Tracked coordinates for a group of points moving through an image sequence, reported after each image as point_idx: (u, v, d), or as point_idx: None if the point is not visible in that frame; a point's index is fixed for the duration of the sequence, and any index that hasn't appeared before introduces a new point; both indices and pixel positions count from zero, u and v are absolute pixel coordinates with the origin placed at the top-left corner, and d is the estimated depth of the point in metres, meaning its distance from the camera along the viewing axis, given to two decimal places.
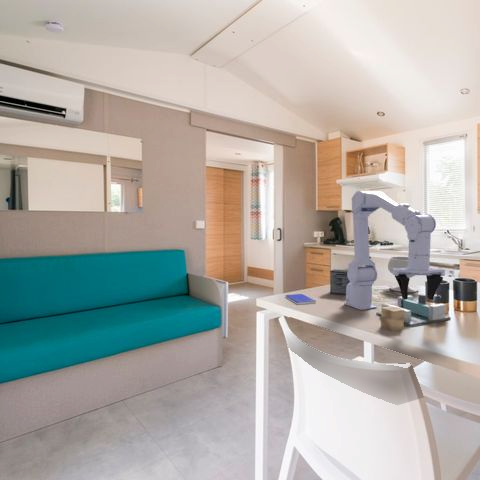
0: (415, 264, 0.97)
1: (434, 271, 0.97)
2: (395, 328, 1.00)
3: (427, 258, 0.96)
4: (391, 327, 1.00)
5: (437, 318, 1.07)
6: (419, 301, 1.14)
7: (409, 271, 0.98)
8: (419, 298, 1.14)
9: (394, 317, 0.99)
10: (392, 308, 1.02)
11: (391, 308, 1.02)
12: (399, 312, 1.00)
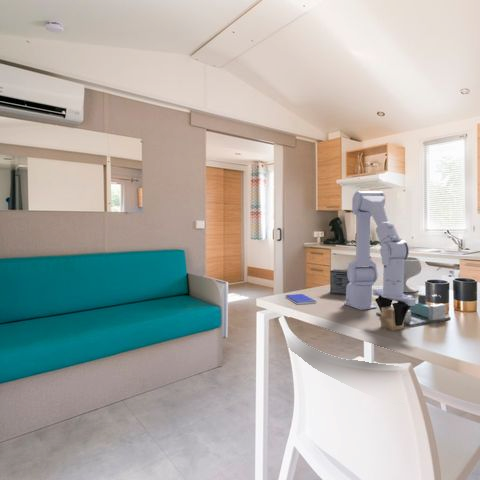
0: (383, 287, 1.03)
1: (398, 298, 0.97)
2: (395, 328, 1.00)
3: (390, 284, 0.99)
4: (391, 327, 1.00)
5: (437, 318, 1.07)
6: (419, 301, 1.14)
7: (379, 293, 1.04)
8: (419, 298, 1.14)
9: (394, 317, 0.99)
10: (392, 308, 1.02)
11: (391, 308, 1.02)
12: None
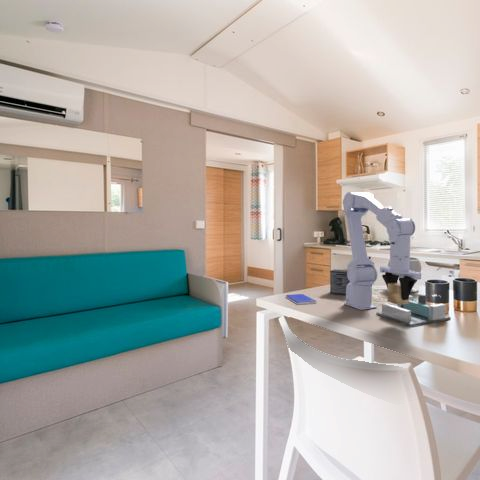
0: None
1: (404, 273, 1.01)
2: (401, 302, 1.04)
3: (397, 259, 1.03)
4: (397, 301, 1.03)
5: (437, 318, 1.07)
6: (419, 301, 1.14)
7: (386, 269, 1.08)
8: (419, 298, 1.14)
9: (400, 292, 1.03)
10: (398, 284, 1.05)
11: (397, 284, 1.06)
12: None
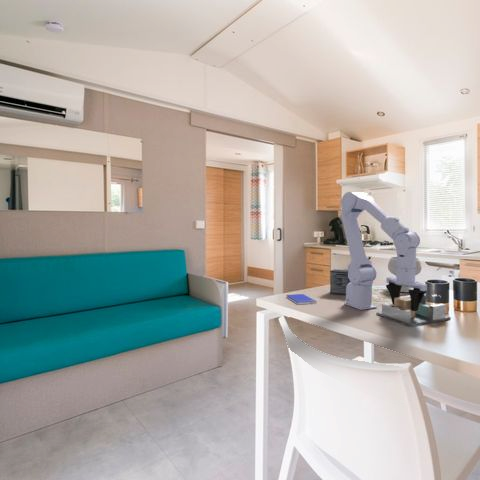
0: (396, 275, 1.11)
1: (411, 284, 1.06)
2: None
3: (403, 271, 1.08)
4: None
5: (437, 318, 1.07)
6: None
7: (392, 280, 1.13)
8: None
9: (406, 306, 1.08)
10: (404, 298, 1.10)
11: (403, 298, 1.11)
12: None
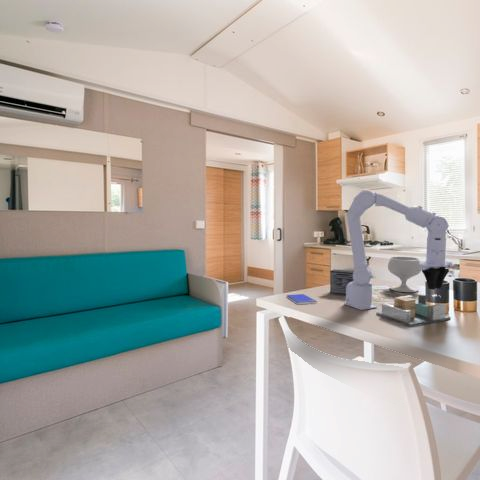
0: (437, 259, 1.12)
1: (447, 264, 1.15)
2: None
3: None
4: None
5: (437, 318, 1.07)
6: (419, 301, 1.14)
7: (433, 265, 1.12)
8: (419, 298, 1.14)
9: (406, 306, 1.08)
10: (404, 298, 1.10)
11: (403, 298, 1.11)
12: (411, 302, 1.09)
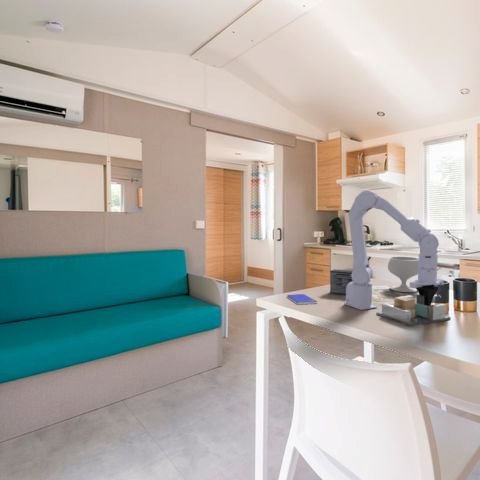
0: (428, 277, 1.11)
1: (439, 282, 1.14)
2: None
3: (436, 271, 1.12)
4: None
5: (437, 318, 1.07)
6: (417, 301, 1.13)
7: (425, 283, 1.11)
8: (417, 298, 1.13)
9: (406, 306, 1.08)
10: (404, 298, 1.10)
11: (403, 298, 1.11)
12: (411, 302, 1.09)
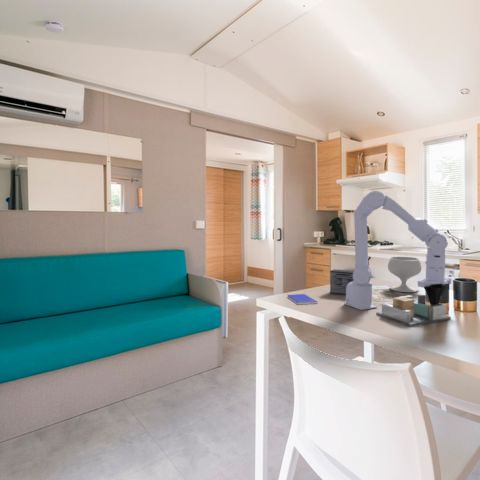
0: (436, 276, 1.13)
1: (447, 281, 1.15)
2: None
3: (444, 270, 1.14)
4: None
5: (437, 318, 1.07)
6: (419, 301, 1.13)
7: (433, 282, 1.13)
8: (419, 298, 1.13)
9: (405, 306, 1.08)
10: (403, 299, 1.10)
11: (402, 298, 1.11)
12: (409, 302, 1.08)
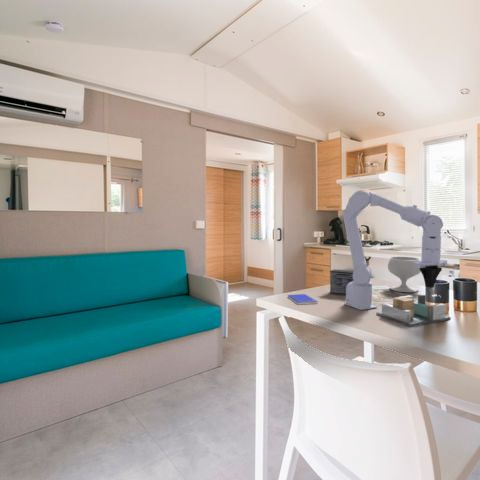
0: (432, 257, 1.13)
1: (442, 262, 1.15)
2: None
3: None
4: None
5: (437, 318, 1.07)
6: (419, 301, 1.13)
7: (428, 264, 1.13)
8: (419, 298, 1.13)
9: (405, 306, 1.08)
10: (403, 299, 1.10)
11: (402, 298, 1.11)
12: (409, 302, 1.08)
